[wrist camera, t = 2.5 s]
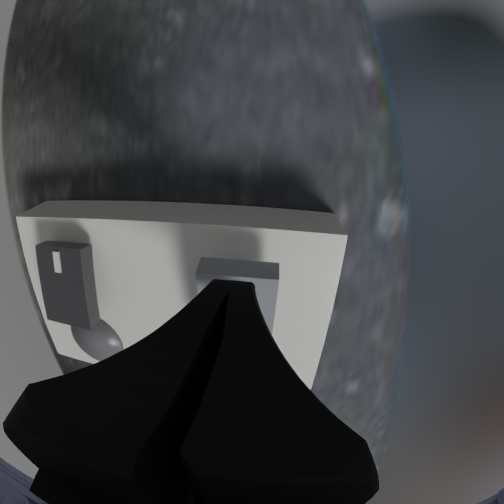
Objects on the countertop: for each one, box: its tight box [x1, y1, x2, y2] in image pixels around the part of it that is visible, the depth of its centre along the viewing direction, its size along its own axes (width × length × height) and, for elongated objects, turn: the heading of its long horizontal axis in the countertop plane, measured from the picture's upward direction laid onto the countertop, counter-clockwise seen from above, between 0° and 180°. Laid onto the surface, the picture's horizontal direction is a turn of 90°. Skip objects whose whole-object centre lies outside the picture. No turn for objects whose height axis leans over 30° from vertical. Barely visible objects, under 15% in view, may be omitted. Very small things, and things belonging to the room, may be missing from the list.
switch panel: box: [16, 200, 348, 390], centre depth 16 cm, size 10×17×3 cm, turn 87°
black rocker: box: [35, 240, 100, 330], centre depth 12 cm, size 4×3×1 cm
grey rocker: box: [195, 257, 279, 334], centre depth 12 cm, size 4×3×1 cm
